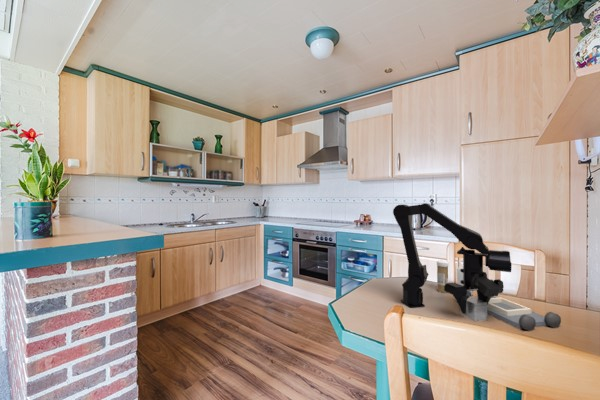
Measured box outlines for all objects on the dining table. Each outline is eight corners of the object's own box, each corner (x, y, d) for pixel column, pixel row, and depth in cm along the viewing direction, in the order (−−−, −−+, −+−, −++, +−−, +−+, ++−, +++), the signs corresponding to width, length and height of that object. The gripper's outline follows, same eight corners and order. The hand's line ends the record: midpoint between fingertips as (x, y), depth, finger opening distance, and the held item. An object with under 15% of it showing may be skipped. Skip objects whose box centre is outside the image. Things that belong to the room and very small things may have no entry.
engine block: (474, 321, 85) (474, 303, 85) (460, 314, 91) (460, 297, 91) (487, 320, 86) (487, 302, 86) (472, 312, 92) (472, 296, 92)
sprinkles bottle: (451, 292, 112) (450, 262, 112) (442, 293, 111) (442, 262, 111) (443, 289, 116) (442, 260, 116) (434, 290, 115) (434, 260, 116)
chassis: (524, 331, 78) (524, 317, 78) (459, 300, 103) (458, 289, 103) (561, 327, 81) (560, 313, 81) (488, 297, 106) (488, 287, 106)
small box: (472, 295, 109) (472, 271, 109) (457, 292, 112) (457, 268, 112) (473, 290, 115) (473, 267, 115) (459, 287, 118) (459, 265, 119)
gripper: (469, 275, 79) (469, 326, 79) (518, 272, 83) (519, 320, 82) (443, 266, 90) (443, 311, 90) (487, 264, 93) (487, 306, 93)
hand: (473, 312), depth 89 cm, fingers open, 7 cm apart
